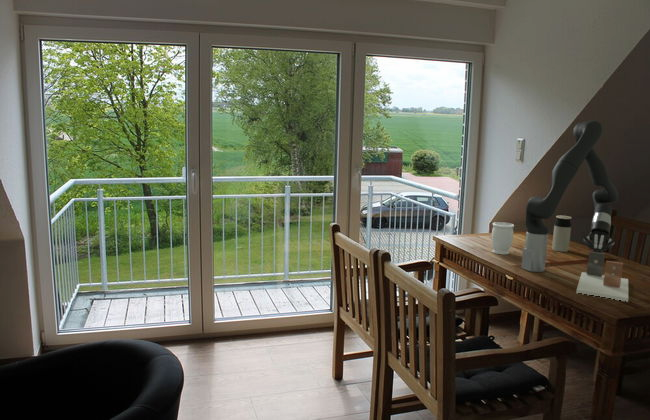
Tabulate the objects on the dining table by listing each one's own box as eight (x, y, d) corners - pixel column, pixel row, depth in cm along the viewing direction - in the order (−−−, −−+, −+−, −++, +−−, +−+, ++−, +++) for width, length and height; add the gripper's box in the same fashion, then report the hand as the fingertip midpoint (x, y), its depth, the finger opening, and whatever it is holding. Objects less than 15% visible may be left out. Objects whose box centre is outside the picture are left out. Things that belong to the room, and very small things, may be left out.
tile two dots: (603, 284, 221) (606, 260, 219) (619, 286, 218) (623, 263, 216) (603, 285, 220) (606, 261, 218) (619, 287, 217) (623, 263, 215)
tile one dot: (586, 273, 235) (589, 251, 234) (601, 275, 233) (604, 253, 231) (586, 274, 234) (589, 252, 232) (601, 276, 231) (604, 254, 229)
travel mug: (569, 252, 278) (573, 218, 275) (552, 251, 280) (556, 217, 277) (567, 249, 286) (571, 216, 283) (551, 247, 288) (554, 214, 285)
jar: (504, 256, 267) (507, 227, 264) (485, 252, 275) (488, 223, 272) (515, 253, 274) (518, 224, 271) (497, 249, 282) (499, 221, 279)
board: (581, 275, 239) (581, 271, 239) (627, 282, 231) (628, 279, 230) (576, 293, 214) (576, 289, 214) (627, 302, 206) (628, 298, 205)
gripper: (585, 218, 242) (579, 250, 234) (618, 221, 236) (614, 255, 228) (584, 227, 248) (579, 259, 239) (616, 231, 242) (612, 264, 233)
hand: (596, 257), depth 234 cm, fingers closed
